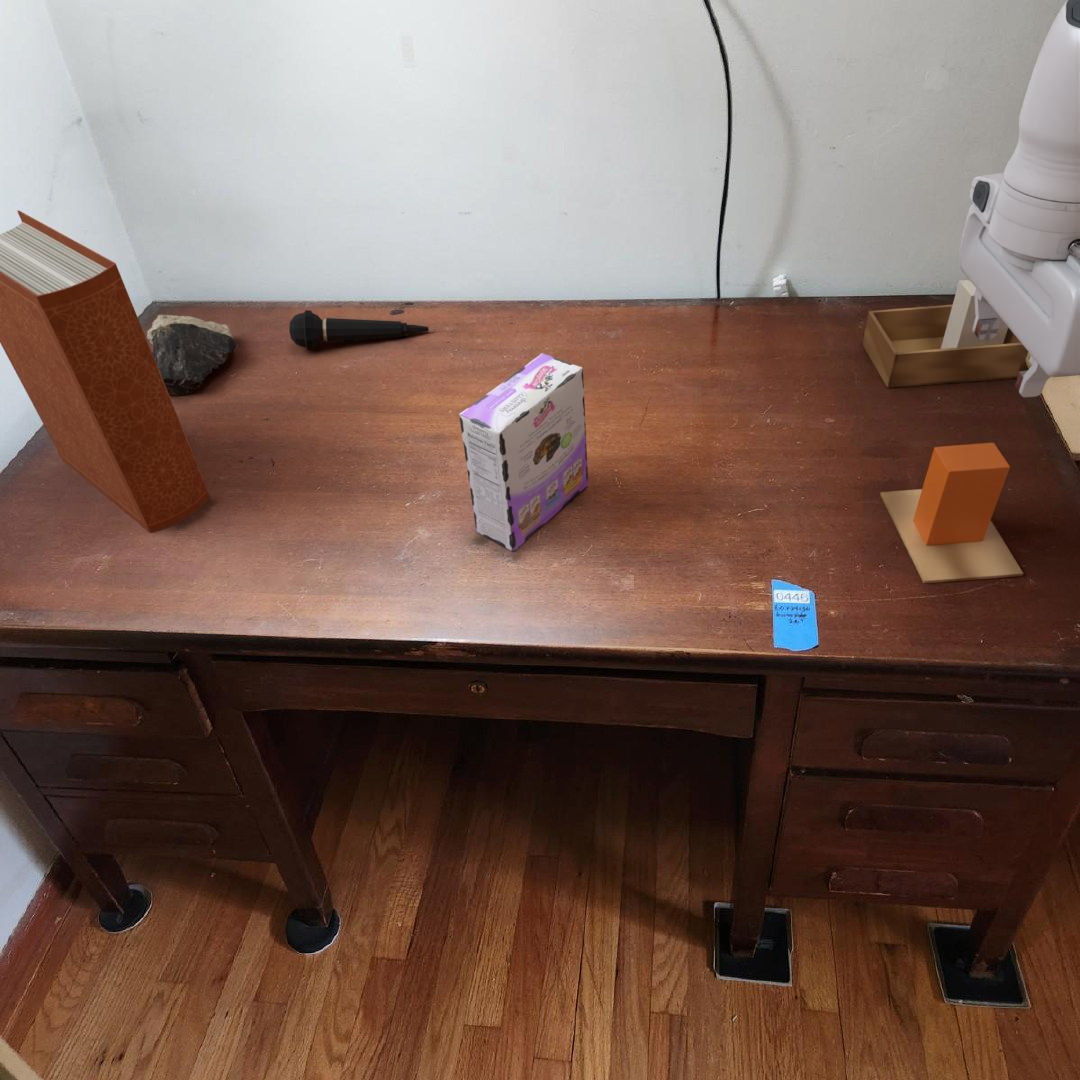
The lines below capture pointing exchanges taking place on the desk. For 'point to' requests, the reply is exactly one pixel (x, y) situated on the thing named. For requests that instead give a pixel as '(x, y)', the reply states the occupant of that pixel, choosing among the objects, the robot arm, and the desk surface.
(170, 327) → the mineral specimen
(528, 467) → the candy box
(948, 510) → the block
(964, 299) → the block
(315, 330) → the microphone
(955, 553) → the cork mat
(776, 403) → the desk surface
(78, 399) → the book
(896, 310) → the wooden box
